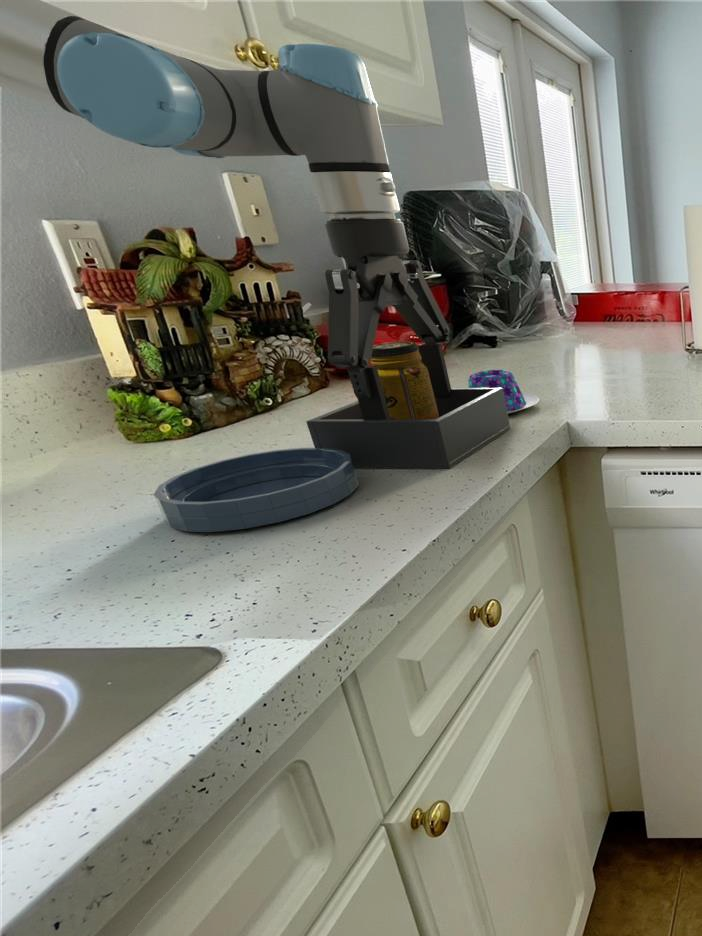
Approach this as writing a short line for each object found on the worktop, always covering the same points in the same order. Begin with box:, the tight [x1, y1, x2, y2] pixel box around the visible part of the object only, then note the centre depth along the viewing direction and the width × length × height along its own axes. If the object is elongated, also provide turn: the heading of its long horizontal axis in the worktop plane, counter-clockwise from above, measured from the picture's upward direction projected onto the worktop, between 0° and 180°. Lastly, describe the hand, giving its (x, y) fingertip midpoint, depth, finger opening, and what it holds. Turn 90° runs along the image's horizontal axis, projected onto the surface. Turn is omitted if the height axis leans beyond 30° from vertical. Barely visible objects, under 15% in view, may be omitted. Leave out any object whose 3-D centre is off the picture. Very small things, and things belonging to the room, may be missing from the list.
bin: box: [305, 387, 512, 470], centre depth 87 cm, size 16×16×6 cm
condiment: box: [370, 341, 439, 419], centre depth 86 cm, size 7×8×12 cm
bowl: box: [153, 447, 359, 533], centre depth 72 cm, size 16×16×3 cm
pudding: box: [467, 369, 540, 415], centre depth 104 cm, size 12×12×5 cm
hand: (412, 409), depth 86 cm, fingers open, 12 cm apart
